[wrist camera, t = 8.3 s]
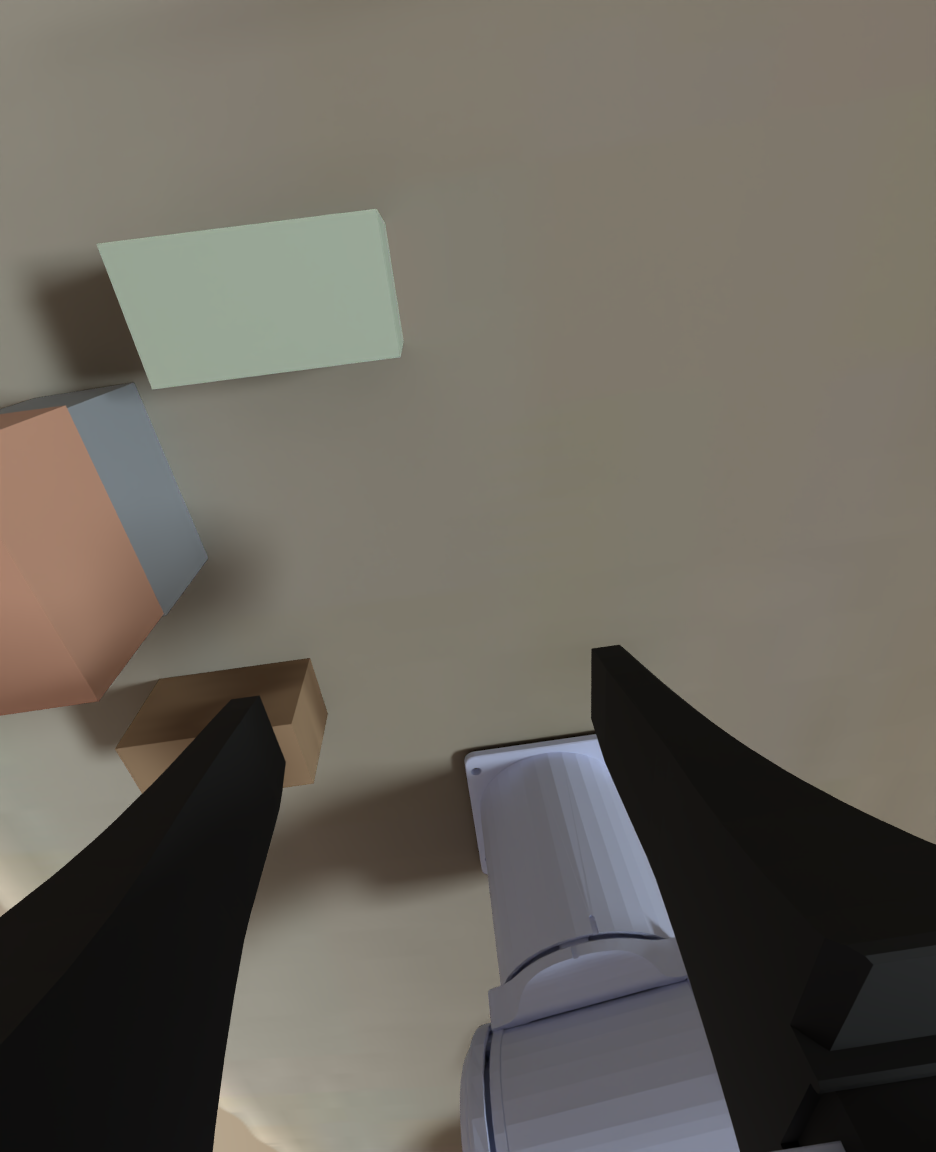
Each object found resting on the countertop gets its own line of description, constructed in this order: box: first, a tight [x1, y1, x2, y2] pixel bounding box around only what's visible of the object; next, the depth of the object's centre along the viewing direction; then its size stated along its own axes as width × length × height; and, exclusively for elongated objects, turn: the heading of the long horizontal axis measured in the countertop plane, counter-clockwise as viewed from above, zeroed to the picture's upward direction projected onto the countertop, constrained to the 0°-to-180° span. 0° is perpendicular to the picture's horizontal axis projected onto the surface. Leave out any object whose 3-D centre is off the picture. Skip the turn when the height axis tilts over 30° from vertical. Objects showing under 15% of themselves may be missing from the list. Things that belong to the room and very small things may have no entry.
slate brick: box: [0, 383, 208, 616], centre depth 17 cm, size 6×3×4 cm, turn 8°
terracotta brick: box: [0, 405, 164, 715], centre depth 14 cm, size 6×3×4 cm, turn 7°
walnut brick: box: [115, 658, 328, 793], centre depth 22 cm, size 6×3×4 cm, turn 96°
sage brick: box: [97, 209, 404, 389], centre depth 15 cm, size 6×3×4 cm, turn 96°
